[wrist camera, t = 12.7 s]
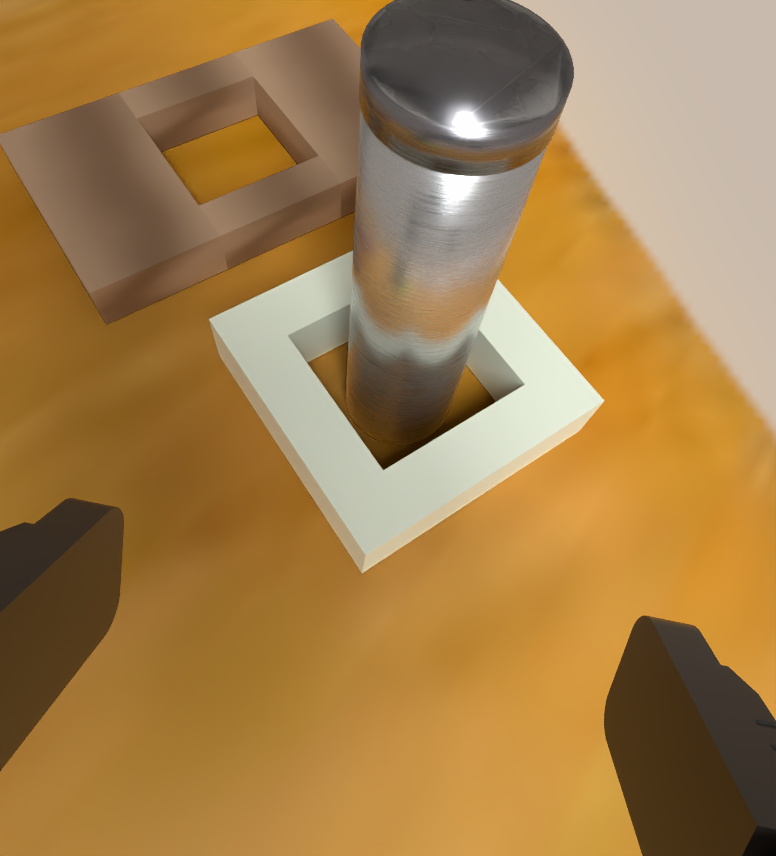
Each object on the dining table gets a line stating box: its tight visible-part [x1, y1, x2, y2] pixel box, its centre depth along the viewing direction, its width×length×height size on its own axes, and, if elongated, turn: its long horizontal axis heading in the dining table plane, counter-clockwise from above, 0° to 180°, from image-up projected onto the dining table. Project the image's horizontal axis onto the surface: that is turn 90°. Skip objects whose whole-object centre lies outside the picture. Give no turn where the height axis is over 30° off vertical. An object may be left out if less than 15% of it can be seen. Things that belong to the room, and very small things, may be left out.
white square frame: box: [209, 251, 604, 573], centre depth 24 cm, size 10×10×2 cm
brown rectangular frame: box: [0, 19, 361, 325], centre depth 28 cm, size 16×9×2 cm, turn 124°
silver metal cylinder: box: [346, 0, 574, 445], centre depth 19 cm, size 4×4×14 cm
